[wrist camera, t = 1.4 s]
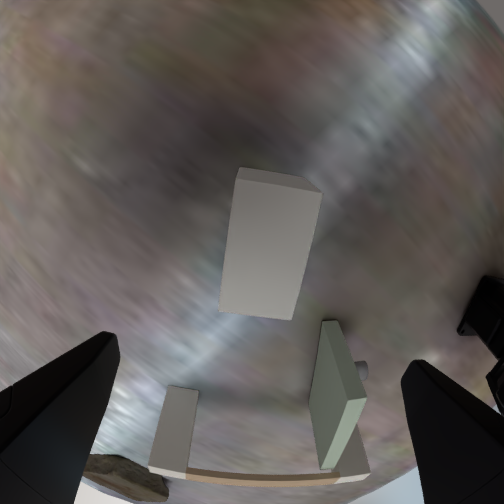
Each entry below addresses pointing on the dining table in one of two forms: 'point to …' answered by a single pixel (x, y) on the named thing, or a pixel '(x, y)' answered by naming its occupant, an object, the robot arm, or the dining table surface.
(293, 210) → the block
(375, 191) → the dining table surface
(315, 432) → the door
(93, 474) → the brown stone slab
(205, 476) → the wall frame
